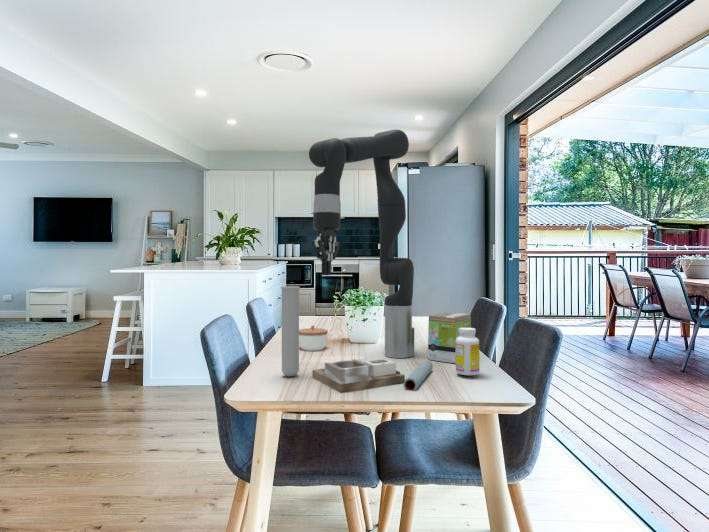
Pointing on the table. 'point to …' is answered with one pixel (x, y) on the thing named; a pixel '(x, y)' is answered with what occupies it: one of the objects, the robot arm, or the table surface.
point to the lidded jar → (312, 339)
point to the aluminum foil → (418, 376)
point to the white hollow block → (382, 367)
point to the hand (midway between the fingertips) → (326, 275)
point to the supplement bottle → (467, 352)
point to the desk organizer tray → (353, 376)
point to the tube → (290, 330)
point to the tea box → (445, 335)
